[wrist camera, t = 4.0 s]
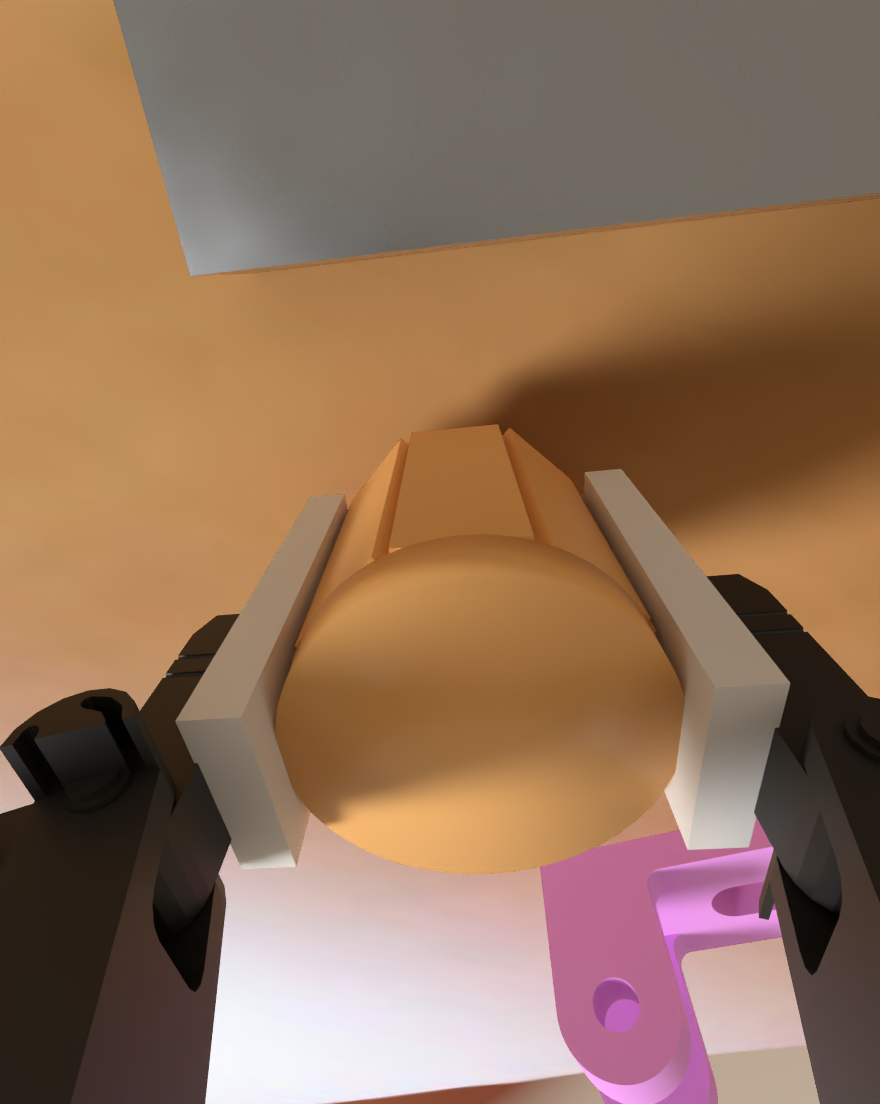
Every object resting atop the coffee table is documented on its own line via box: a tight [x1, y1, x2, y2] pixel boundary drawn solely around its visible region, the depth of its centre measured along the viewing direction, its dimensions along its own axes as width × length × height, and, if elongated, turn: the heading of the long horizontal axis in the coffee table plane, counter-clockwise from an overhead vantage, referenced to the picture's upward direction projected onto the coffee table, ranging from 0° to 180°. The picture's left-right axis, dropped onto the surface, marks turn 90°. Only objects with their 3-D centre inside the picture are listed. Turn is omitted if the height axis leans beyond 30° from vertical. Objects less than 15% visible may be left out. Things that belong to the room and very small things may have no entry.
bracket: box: [540, 817, 782, 1104], centre depth 18 cm, size 13×6×7 cm, turn 113°
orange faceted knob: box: [275, 424, 685, 874], centre depth 10 cm, size 5×5×6 cm
